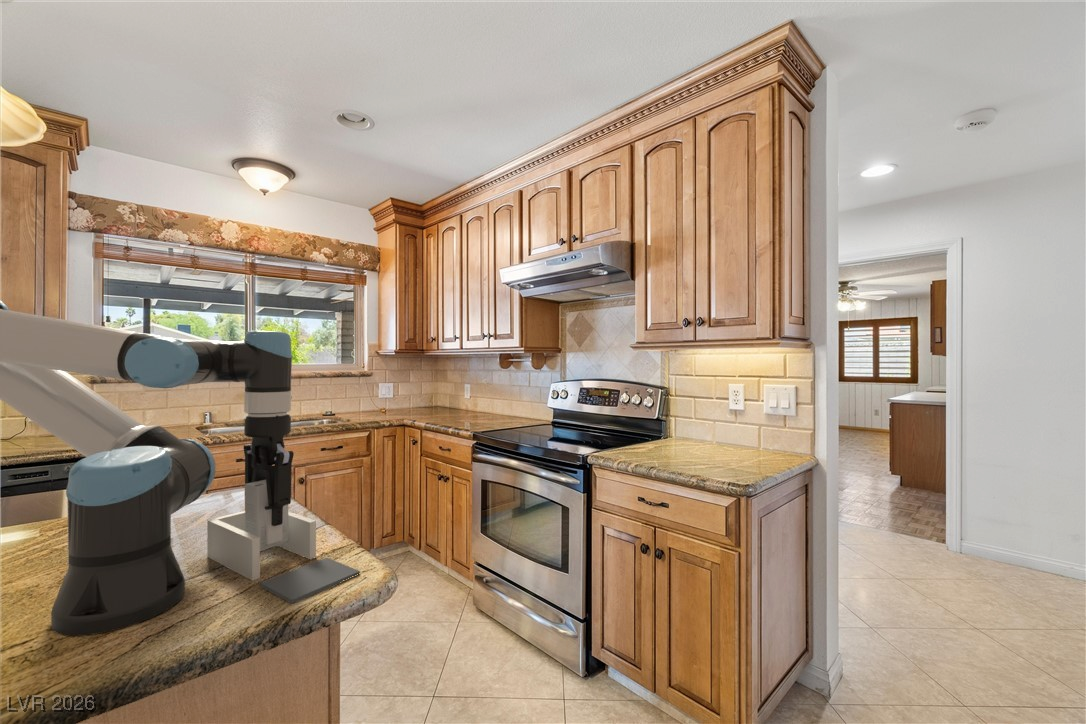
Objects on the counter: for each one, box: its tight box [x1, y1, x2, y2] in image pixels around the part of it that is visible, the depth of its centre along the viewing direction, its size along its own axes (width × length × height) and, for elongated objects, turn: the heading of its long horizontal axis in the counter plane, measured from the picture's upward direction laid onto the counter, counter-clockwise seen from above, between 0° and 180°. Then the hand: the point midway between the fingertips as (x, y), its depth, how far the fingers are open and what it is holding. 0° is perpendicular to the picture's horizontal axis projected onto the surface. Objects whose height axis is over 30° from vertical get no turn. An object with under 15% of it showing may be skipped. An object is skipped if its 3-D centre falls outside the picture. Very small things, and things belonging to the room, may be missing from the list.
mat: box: [258, 557, 361, 604], centre depth 82 cm, size 12×10×1 cm
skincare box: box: [244, 480, 289, 552], centre depth 89 cm, size 6×4×12 cm
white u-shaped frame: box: [206, 510, 317, 581], centre depth 91 cm, size 11×17×7 cm, turn 56°
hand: (266, 538), depth 89 cm, fingers closed on skincare box, 4 cm apart
